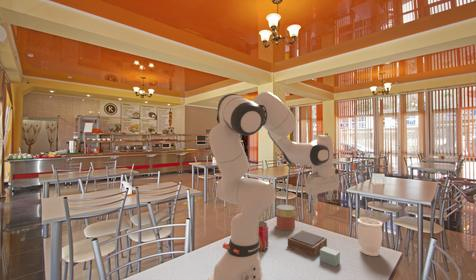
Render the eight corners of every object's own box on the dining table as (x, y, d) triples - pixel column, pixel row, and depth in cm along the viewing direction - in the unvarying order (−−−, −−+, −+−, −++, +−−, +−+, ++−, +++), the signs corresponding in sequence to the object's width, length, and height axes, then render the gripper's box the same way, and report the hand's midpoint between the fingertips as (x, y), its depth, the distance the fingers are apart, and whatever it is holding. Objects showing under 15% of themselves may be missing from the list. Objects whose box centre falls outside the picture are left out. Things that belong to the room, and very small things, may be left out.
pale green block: (335, 267, 96) (335, 255, 96) (319, 260, 101) (319, 249, 101) (339, 263, 99) (339, 251, 99) (324, 257, 104) (324, 246, 104)
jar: (369, 245, 115) (370, 216, 115) (387, 256, 105) (388, 224, 105) (352, 248, 112) (352, 218, 112) (368, 259, 102) (369, 226, 102)
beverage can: (251, 243, 117) (251, 220, 117) (266, 243, 117) (266, 220, 117) (253, 251, 109) (253, 227, 109) (269, 251, 110) (269, 226, 109)
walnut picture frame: (313, 256, 105) (313, 246, 105) (287, 246, 114) (287, 237, 114) (326, 246, 114) (326, 237, 114) (301, 237, 124) (301, 229, 124)
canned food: (293, 223, 145) (293, 204, 145) (296, 230, 134) (296, 210, 134) (276, 222, 146) (276, 204, 146) (276, 229, 135) (277, 209, 135)
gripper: (313, 174, 93) (313, 207, 94) (341, 169, 105) (341, 199, 105) (301, 172, 98) (301, 203, 99) (329, 168, 110) (329, 196, 110)
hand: (322, 201), depth 102 cm, fingers open, 8 cm apart
